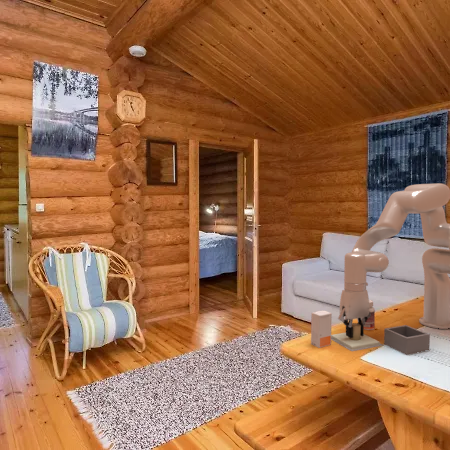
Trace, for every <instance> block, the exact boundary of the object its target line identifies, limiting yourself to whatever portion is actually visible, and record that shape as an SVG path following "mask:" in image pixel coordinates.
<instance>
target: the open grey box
mask: <svg viewBox="0 0 450 450" xmlns="http://www.w3.org/2000/svg"><path fill="white" fill-rule="evenodd" d="M383 332H384V334H383V337H384V338H383V345H384V346H385V345H386V346H388V347H390V348H391V349H394V350H395V351H398V352H400V353H402V354H404V355H406V356H408V355H409V356H410V355H414V354H418V353H417V352H419V353H422V352H421V351H424V352H426V351H425V350H429V351H430V342H431V341H430V338H431V337H430V336H431V335H430V334H429V333H427V332H424V331H422V330H420V329H417V328H415V327H413V326H412V327H411V326H409V325H407V324H403V325H398V326H391V327H386V328H384V330H383Z"/></svg>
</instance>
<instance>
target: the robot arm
mask: <svg viewBox="0 0 450 450" xmlns="http://www.w3.org/2000/svg"><path fill="white" fill-rule="evenodd" d="M449 201H450V188H449V186H448V185H446V184H444V183H440V182H439V183H421V184H419V183H418V184H412V185H408V186H407V187H405V188H404V190H400V191H395V192H393V193H392V194H391V195H390V196H389V197H388V200H387V202H386V204H385V206H384V208H383V210H382V212H381V214H380V216H379V217H378V220H377V222H376V223H375V224H374V225H373V226H371V227H369V229H367V230H366V231H365V232H364V233H363V234H361V235H360V237H359V238H358V239H357V241H356V242H355V244H354V246H353V248H352V250H351V252H347V253H345V255H344V273H343V274H344V275H343V276H344V279H343V280H344V282H343V283H344V287H343V288H344V289H342V290H341V295H340V298H339V299H340V301H339V316H338V317H337V319H338V320H339V321H340V322H341V323H343V325H344V326H345V333H346V336H348V337H350V338H353V327H352V323H354V322H353V320H354V319H357V322H356V323H357V324H360V325H361V336H364V334H365V333H364V325H365V322H366V321H367V319H368V318H369V317H370V316H371V313H370V311H369V300H370V299H369V291H368V289H367V287H368V285H369V283H368V282H367V273H374V274H375V273H382V272H384V271H385V270H386V269H388V267H389V265H390V264H389V263H390V262H389V258H388V257H387V255H386V254H384V253H383V252H379V251H374V250H371V249H372V248H373V247H374V246H375V245H376V244H378V243H379V242H381V241H384V240H387V239H389V238H392V237H394V236H397V235H398V234H399V233H400V231H401V229H402V228H403V225H404V223H405V221H406V220H407V218H408V215H409V214H414V215H415V214H419V215H420V221H421V229H422V235H423V240H424V242H425V244H427V245H428V246H432V247H433V248H429V249H426V250H425V251H424V252H423V254H422V257H421V261H422V262H421V263H422V267H423V273H424V274H423V275H424V276H423V277H424V284H423V285H424V288H423V292H424V293H423V295H424V296H423V316H422V317H420V318H419V320H418V321H419V324H421V325H423V326H425V327H428V328H432V329H438V328H439V330H449V329H448V328H450V276H449V275H450V223H448V222H447V219H446V213H445V209H444V206H446V204H448V202H449ZM444 248H446V249H444Z"/></svg>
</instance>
